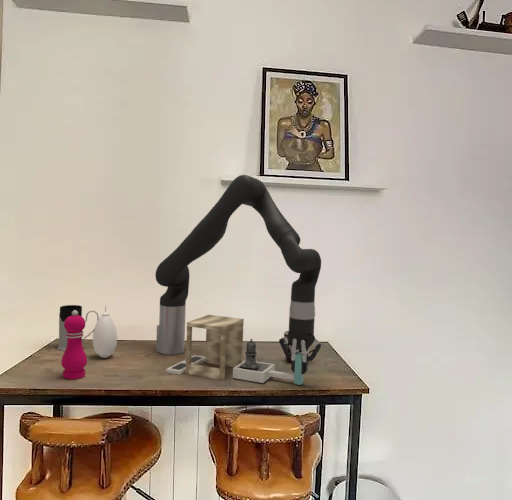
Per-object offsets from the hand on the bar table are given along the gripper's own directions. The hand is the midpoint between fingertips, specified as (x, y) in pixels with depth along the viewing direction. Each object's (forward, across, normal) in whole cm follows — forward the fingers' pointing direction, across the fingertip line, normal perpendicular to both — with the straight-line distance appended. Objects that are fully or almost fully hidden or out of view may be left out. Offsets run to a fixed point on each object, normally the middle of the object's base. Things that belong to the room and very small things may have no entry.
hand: (299, 372), depth 145 cm
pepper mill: (+4, -63, -25) cm, 68 cm away
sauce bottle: (+4, -68, -5) cm, 68 cm away
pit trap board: (+4, -38, 0) cm, 38 cm away
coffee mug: (+4, -7, +22) cm, 23 cm away
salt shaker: (+4, -16, 0) cm, 16 cm away
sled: (+3, -9, 0) cm, 10 cm away
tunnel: (+4, -28, 0) cm, 28 cm away
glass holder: (+4, -84, 0) cm, 84 cm away
